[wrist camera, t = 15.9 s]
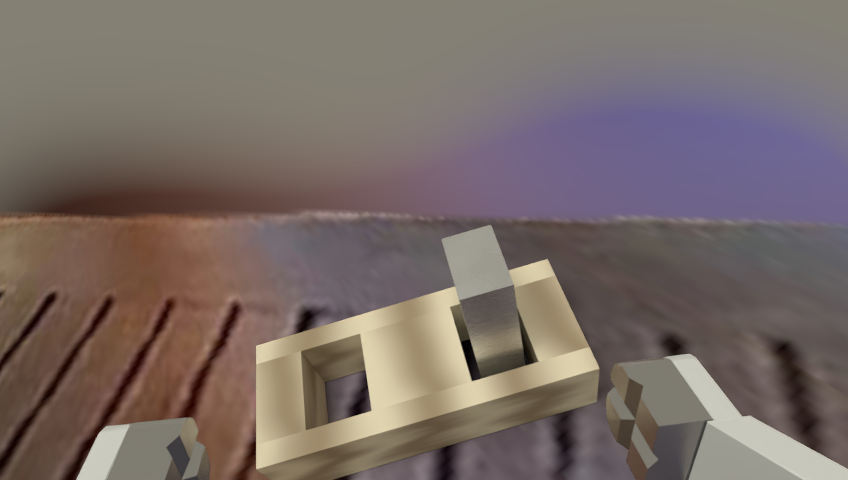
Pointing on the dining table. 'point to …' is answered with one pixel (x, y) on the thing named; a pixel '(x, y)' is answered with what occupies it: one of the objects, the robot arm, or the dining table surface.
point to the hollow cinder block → (414, 382)
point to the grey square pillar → (486, 300)
